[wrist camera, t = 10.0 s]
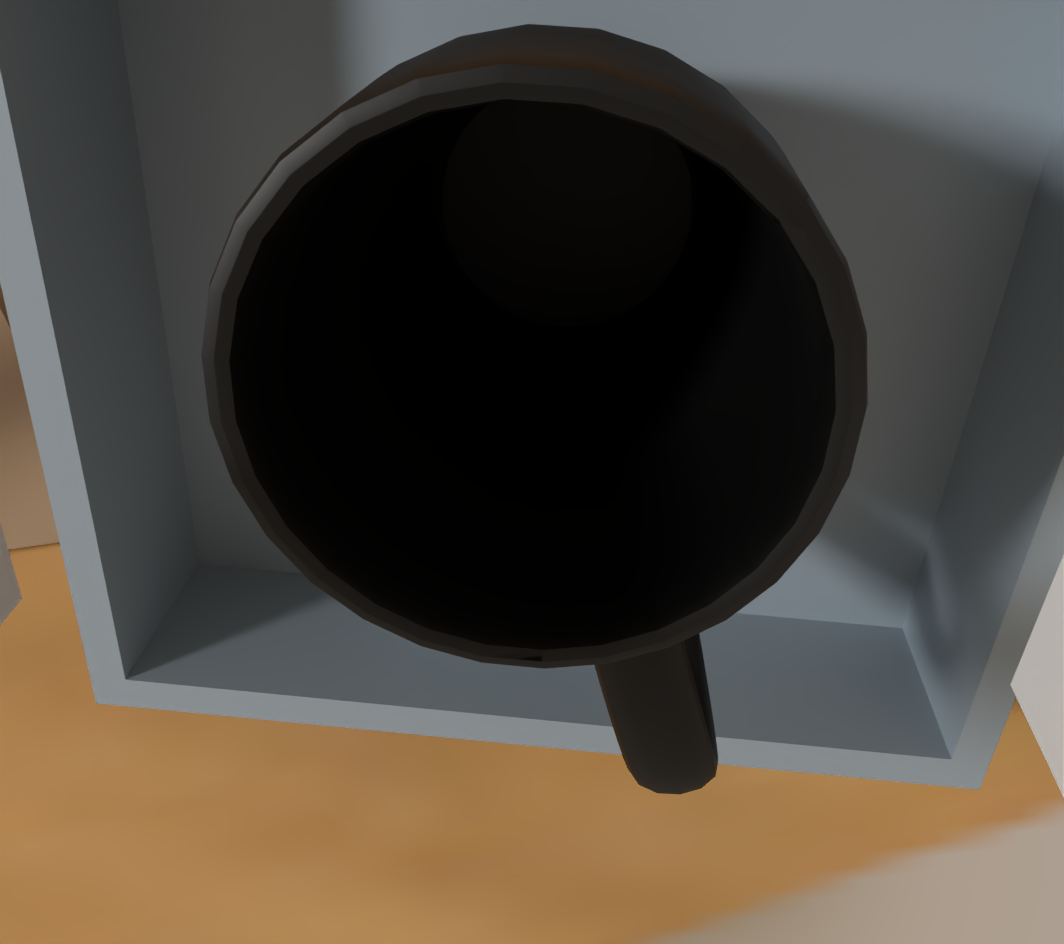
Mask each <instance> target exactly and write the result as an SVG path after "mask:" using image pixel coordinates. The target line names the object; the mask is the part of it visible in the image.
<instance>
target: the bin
mask: <svg viewBox="0 0 1064 944" xmlns="http://www.w3.org/2000/svg"><path fill="white" fill-rule="evenodd" d="M525 24H538V25H553V26H568V27H583V28H598V29H602V30H605V31H608V32H611V33H614V34H617V35H620V36H623V37H627V38H630V39H633V40H636V41H639V42H642V43H645V44H648V45H652V46H655V47H658V48H661V49H664V50H666V51H668V52H669V53H671V54H673V55H674V56H676V57H677V58H679V59H681V60H682V61H684V62H686V63H687V64H689V65H690V66H692V67H694V68H695V69H697V70H698V71H700V72H702V73H703V74H705V75H707V76H708V77H710V78H711V79H713V80H715V81H716V82H718V83H719V84H721V85H723V86H724V87H725V88H726V89H727V90H728V91H729V92H730V93H731V94H732V95H733V96H734V97H735V98H736V99H737V100H738V101H739V102H740V103H741V104H742V105H743V106H744V107H745V108H746V109H747V110H748V111H749V112H750V113H751V114H752V115H753V116H754V117H755V118H756V119H757V120H758V122H759V123H760V124H761V125H762V126H763V127H764V128H765V129H766V130H767V131H768V132H769V133H770V134H771V135H772V136H773V138H774V139H775V141H776V142H777V143H778V145H779V146H780V148H781V149H782V151H783V152H784V154H785V155H786V157H787V159H788V160H789V162H790V164H791V165H792V167H793V169H794V170H795V172H796V174H797V175H798V177H799V179H800V180H801V182H802V184H803V185H804V187H805V189H806V190H807V192H808V194H809V195H810V197H811V199H812V201H813V202H814V204H815V206H816V208H817V209H818V211H819V213H820V214H821V216H822V218H823V220H824V221H825V223H826V225H827V227H828V228H829V230H830V232H831V234H832V235H833V237H834V239H835V240H836V242H837V244H838V246H839V247H840V249H841V251H842V253H843V254H844V256H845V258H846V260H847V262H848V265H849V269H850V273H851V276H852V280H853V284H854V287H855V291H856V294H857V298H858V302H859V305H860V309H861V313H862V316H863V320H864V324H865V327H866V331H867V382H868V405H867V409H866V413H865V417H864V421H863V425H862V429H861V433H860V437H859V441H858V445H857V449H856V453H855V457H854V461H853V465H852V469H851V473H850V476H849V478H848V480H847V481H846V483H845V485H844V487H843V489H842V491H841V493H840V495H839V497H838V499H837V500H836V502H835V504H834V506H833V508H832V510H831V512H830V514H829V516H828V517H827V519H826V521H825V523H824V525H823V527H822V529H821V531H820V533H819V534H818V535H817V537H816V538H815V539H814V540H813V541H812V542H811V543H810V545H809V546H808V547H807V548H806V549H805V550H804V552H803V553H802V554H801V555H800V556H799V557H798V558H797V560H796V561H795V562H794V563H793V564H792V565H791V567H790V568H789V569H788V570H787V571H786V572H785V573H784V575H783V576H782V577H781V578H780V579H779V580H778V582H777V583H775V584H774V585H773V586H771V587H770V588H769V589H767V590H766V591H765V592H763V593H762V594H761V595H759V596H758V597H757V598H755V599H754V600H753V601H751V602H750V603H749V604H747V605H746V606H745V607H743V608H742V609H741V610H739V611H738V612H737V613H735V614H734V615H733V616H731V617H730V618H728V619H727V620H726V621H724V622H722V623H719V624H717V625H715V626H713V627H711V628H709V629H707V630H705V631H703V632H701V633H699V634H700V640H701V646H702V652H703V658H704V664H705V670H706V676H707V682H708V689H709V695H710V701H711V708H712V714H713V721H714V728H715V735H716V743H717V751H718V764H723V765H733V766H743V767H753V768H764V769H774V770H784V771H794V772H804V773H815V774H825V775H835V776H845V777H856V778H866V779H876V780H886V781H896V782H907V783H917V784H927V785H937V786H948V787H958V788H968V789H978V790H979V789H980V787H981V784H982V781H983V779H984V776H985V774H986V771H987V769H988V766H989V764H990V761H991V759H992V756H993V754H994V751H995V749H996V746H997V744H998V741H999V739H1000V736H1001V733H1002V731H1003V728H1004V726H1005V723H1006V721H1007V718H1008V716H1009V713H1010V711H1011V708H1012V706H1013V703H1014V701H1015V698H1016V696H1015V693H1014V691H1013V689H1012V687H1011V685H1010V684H1011V682H1012V680H1013V677H1014V675H1015V672H1016V670H1017V667H1018V665H1019V662H1020V660H1021V657H1022V655H1023V653H1024V650H1025V648H1026V645H1027V643H1028V640H1029V638H1030V635H1031V633H1032V631H1033V628H1034V626H1035V623H1036V621H1037V618H1038V616H1039V613H1040V611H1041V609H1042V606H1043V604H1044V601H1045V599H1046V596H1047V594H1048V591H1049V589H1050V587H1051V584H1052V582H1053V579H1054V577H1055V574H1056V572H1057V569H1058V567H1059V565H1060V562H1061V560H1062V557H1063V555H1064V0H0V284H1V288H2V293H3V297H4V301H5V306H6V310H7V315H8V319H9V323H10V328H11V332H12V336H13V341H14V345H15V350H16V354H17V358H18V363H19V367H20V372H21V376H22V380H23V385H24V389H25V393H26V398H27V402H28V407H29V411H30V415H31V420H32V424H33V428H34V433H35V437H36V442H37V446H38V450H39V455H40V459H41V464H42V468H43V472H44V477H45V481H46V485H47V490H48V494H49V499H50V503H51V507H52V512H53V516H54V521H55V525H56V529H57V534H58V538H59V542H60V547H61V551H62V556H63V560H64V564H65V569H66V573H67V578H68V582H69V586H70V591H71V595H72V599H73V604H74V608H75V613H76V617H77V621H78V626H79V630H80V635H81V639H82V643H83V648H84V652H85V656H86V661H87V665H88V670H89V674H90V678H91V683H92V687H93V692H94V696H95V700H96V703H99V704H109V705H120V706H130V707H140V708H150V709H161V710H171V711H181V712H191V713H201V714H212V715H222V716H232V717H242V718H253V719H263V720H273V721H283V722H293V723H304V724H314V725H324V726H334V727H344V728H355V729H365V730H375V731H385V732H396V733H406V734H416V735H426V736H436V737H447V738H457V739H467V740H477V741H488V742H498V743H508V744H518V745H528V746H539V747H549V748H559V749H569V750H580V751H590V752H600V753H610V754H620V755H622V753H621V750H620V747H619V744H618V741H617V738H616V735H615V732H614V729H613V726H612V723H611V720H610V716H609V713H608V710H607V706H606V703H605V700H604V696H603V693H602V690H601V686H600V683H599V679H598V676H597V672H596V669H595V665H585V666H572V667H560V668H547V669H543V668H532V667H521V666H511V665H500V664H490V663H481V662H477V661H473V660H470V659H466V658H462V657H459V656H455V655H451V654H448V653H444V652H440V651H437V650H433V649H429V648H426V647H422V646H419V645H417V644H415V643H413V642H411V641H409V640H406V639H404V638H402V637H400V636H398V635H396V634H394V633H392V632H389V631H387V630H385V629H383V628H381V627H379V626H377V625H374V624H372V623H370V622H368V621H366V620H364V619H362V618H361V617H359V616H358V615H356V614H355V613H354V612H352V611H351V610H349V609H348V608H347V607H345V606H344V605H342V604H341V603H340V602H338V601H337V600H335V599H334V598H333V597H331V596H330V595H328V594H327V593H325V592H324V591H323V590H321V589H320V588H318V587H317V586H316V585H314V584H313V583H311V582H310V581H309V580H308V579H307V578H306V576H305V575H304V574H303V573H302V572H301V571H300V570H299V569H298V568H297V567H296V566H295V565H294V564H293V563H292V562H291V561H290V560H289V559H288V558H287V557H286V556H285V555H284V554H283V553H282V552H281V551H280V550H279V548H278V547H277V546H276V545H275V544H274V543H273V542H272V541H271V540H270V539H269V538H268V537H267V536H266V534H265V533H264V531H263V530H262V528H261V526H260V525H259V523H258V522H257V520H256V519H255V517H254V516H253V514H252V512H251V511H250V509H249V508H248V506H247V505H246V503H245V501H244V500H243V498H242V497H241V495H240V494H239V492H238V490H237V489H236V487H235V486H234V484H233V483H232V480H231V478H230V475H229V472H228V469H227V467H226V464H225V461H224V459H223V456H222V453H221V451H220V448H219V445H218V442H217V440H216V437H215V434H214V432H213V429H212V426H211V424H210V420H209V412H208V404H207V396H206V388H205V380H204V372H203V365H202V357H201V354H202V344H203V335H204V327H205V319H206V310H207V302H208V294H209V285H210V280H211V277H212V275H213V272H214V270H215V267H216V265H217V262H218V260H219V257H220V254H221V252H222V249H223V247H224V244H225V242H226V239H227V237H228V234H229V232H230V229H231V226H232V224H233V221H234V219H235V216H236V214H237V213H238V211H239V210H240V209H241V207H242V206H243V205H244V203H245V202H246V201H247V199H248V198H249V197H250V195H251V194H252V192H253V191H254V190H255V188H256V187H257V186H258V184H259V183H260V182H261V180H262V179H263V177H264V176H265V175H266V173H267V172H268V171H269V169H270V168H271V167H272V165H273V164H274V163H275V161H276V160H277V158H278V157H279V156H280V154H282V153H283V152H284V151H285V150H287V149H288V148H289V147H290V146H292V145H293V144H294V143H295V142H296V141H298V140H299V139H300V138H301V137H303V136H304V135H305V134H306V133H308V132H309V131H310V130H311V129H313V128H314V127H315V126H316V125H318V124H319V123H320V122H321V121H323V120H324V119H325V118H326V117H328V116H329V115H330V114H331V113H333V112H334V111H335V110H336V109H338V108H339V107H340V106H341V105H343V104H344V103H345V102H346V101H348V100H349V99H350V98H352V97H353V96H354V95H356V94H357V93H358V92H360V91H361V90H362V89H364V88H365V87H366V86H368V85H369V84H370V83H372V82H373V81H374V80H376V79H377V78H378V77H380V76H381V75H383V74H384V73H386V72H387V71H389V70H390V69H392V68H393V67H395V66H396V65H398V64H400V63H402V62H404V61H406V60H409V59H411V58H413V57H415V56H417V55H420V54H422V53H424V52H426V51H428V50H431V49H433V48H435V47H437V46H439V45H442V44H444V43H446V42H448V41H450V40H453V39H455V38H457V37H459V36H464V35H470V34H475V33H481V32H486V31H492V30H498V29H503V28H509V27H514V26H520V25H525Z"/></svg>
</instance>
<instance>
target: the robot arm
mask: <svg viewBox="0 0 1064 944" xmlns="http://www.w3.org/2000/svg"><path fill="white" fill-rule="evenodd" d="M21 599H22V597H21V593H20V590H19V586H18V583H17V579H16V576H15V572H14V569H13V565H12V561H11V558H10V554H9V551H8V547H7V544H6V540H5V537H4V533H3V529H2V526H1V522H0V625H1V624H2V622H3V621H4V620H5V619H6V617H7V616H8V615H9V614H10V612H11V611H12V610H13V609H14V608H15V606H16V605H17V604H18V603H19V601H20V600H21ZM1010 685H1011V687H1012V689H1013V691H1014V693H1015V696H1016V698H1017V700H1018V702H1019V704H1020V706H1021V708H1022V710H1023V713H1024V715H1025V717H1026V719H1027V721H1028V723H1029V725H1030V727H1031V729H1032V732H1033V734H1034V736H1035V738H1036V740H1037V742H1038V744H1039V746H1040V748H1041V751H1042V753H1043V755H1044V757H1045V759H1046V761H1047V763H1048V765H1049V768H1050V770H1051V772H1052V774H1053V776H1054V778H1055V780H1056V782H1057V784H1058V787H1059V789H1060V791H1061V793H1062V795H1063V797H1064V555H1063V557H1062V560H1061V562H1060V565H1059V567H1058V569H1057V572H1056V574H1055V577H1054V579H1053V582H1052V584H1051V587H1050V589H1049V591H1048V594H1047V596H1046V599H1045V601H1044V604H1043V606H1042V609H1041V611H1040V613H1039V616H1038V618H1037V621H1036V623H1035V626H1034V628H1033V631H1032V633H1031V635H1030V638H1029V640H1028V643H1027V645H1026V648H1025V650H1024V653H1023V655H1022V657H1021V660H1020V662H1019V665H1018V667H1017V670H1016V672H1015V675H1014V677H1013V680H1012V682H1011V684H1010Z"/></svg>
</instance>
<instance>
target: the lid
mask: <svg viewBox="0 0 1064 944" xmlns="http://www.w3.org/2000/svg"><path fill="white" fill-rule="evenodd" d="M0 522H1V526H2V529H3V533H4V537H5V540H6V544H7V547H8V550H9V549H16V548H23V547H30V546H37V545H44V544H51V543H58V542H59V538H58V534H57V529H56V525H55V521H54V516H53V512H52V507H51V503H50V499H49V494H48V490H47V485H46V481H45V477H44V472H43V468H42V464H41V459H40V455H39V450H38V446H37V442H36V437H35V433H34V428H33V424H32V420H31V415H30V411H29V407H28V402H27V398H26V393H25V389H24V385H23V380H22V376H21V372H20V367H19V363H18V358H17V354H16V350H15V345H14V341H13V336H12V332H11V328H10V323H9V319H8V315H7V310H6V306H5V301H4V297H3V293H2V288H1V284H0Z"/></svg>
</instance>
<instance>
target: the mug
mask: <svg viewBox="0 0 1064 944" xmlns="http://www.w3.org/2000/svg"><path fill="white" fill-rule="evenodd" d="M201 357H202V365H203V372H204V380H205V388H206V396H207V404H208V412H209V420H210V424H211V426H212V429H213V432H214V434H215V437H216V440H217V442H218V445H219V448H220V451H221V453H222V456H223V459H224V461H225V464H226V467H227V469H228V472H229V475H230V478H231V480H232V483H233V484H234V486H235V487H236V489H237V490H238V492H239V494H240V495H241V497H242V498H243V500H244V501H245V503H246V505H247V506H248V508H249V509H250V511H251V512H252V514H253V516H254V517H255V519H256V520H257V522H258V523H259V525H260V526H261V528H262V530H263V531H264V533H265V534H266V536H267V537H268V538H269V539H270V540H271V541H272V542H273V543H274V544H275V545H276V546H277V547H278V548H279V550H280V551H281V552H282V553H283V554H284V555H285V556H286V557H287V558H288V559H289V560H290V561H291V562H292V563H293V564H294V565H295V566H296V567H297V568H298V569H299V570H300V571H301V572H302V573H303V574H304V575H305V576H306V578H307V579H308V580H309V581H310V582H311V583H313V584H314V585H316V586H317V587H318V588H320V589H321V590H323V591H324V592H325V593H327V594H328V595H330V596H331V597H333V598H334V599H335V600H337V601H338V602H340V603H341V604H342V605H344V606H345V607H347V608H348V609H349V610H351V611H352V612H354V613H355V614H356V615H358V616H359V617H361V618H362V619H364V620H366V621H368V622H370V623H372V624H374V625H377V626H379V627H381V628H383V629H385V630H387V631H389V632H392V633H394V634H396V635H398V636H400V637H402V638H404V639H406V640H409V641H411V642H413V643H415V644H417V645H419V646H422V647H426V648H429V649H433V650H437V651H440V652H444V653H448V654H451V655H455V656H459V657H462V658H466V659H470V660H473V661H477V662H481V663H490V664H500V665H511V666H521V667H532V668H543V669H547V668H560V667H572V666H585V665H595V669H596V672H597V676H598V679H599V683H600V686H601V690H602V693H603V696H604V700H605V703H606V706H607V710H608V713H609V716H610V720H611V723H612V726H613V729H614V732H615V735H616V738H617V741H618V744H619V747H620V750H621V753H622V756H623V758H624V761H625V763H626V765H627V768H628V769H629V771H630V772H631V774H632V775H633V777H634V778H635V780H636V781H637V783H638V784H639V785H641V786H643V787H645V788H647V789H649V790H652V791H654V792H656V793H665V794H683V793H686V792H690V791H693V790H697V789H700V788H702V787H703V786H704V785H706V784H707V783H708V782H709V781H710V780H711V779H713V778H714V777H715V775H716V770H717V765H718V751H717V743H716V735H715V728H714V721H713V714H712V708H711V701H710V695H709V689H708V682H707V676H706V670H705V664H704V658H703V652H702V646H701V640H700V634H699V633H701V632H703V631H705V630H707V629H709V628H711V627H713V626H715V625H717V624H719V623H722V622H724V621H726V620H727V619H728V618H730V617H731V616H733V615H734V614H735V613H737V612H738V611H739V610H741V609H742V608H743V607H745V606H746V605H747V604H749V603H750V602H751V601H753V600H754V599H755V598H757V597H758V596H759V595H761V594H762V593H763V592H765V591H766V590H767V589H769V588H770V587H771V586H773V585H774V584H775V583H777V582H778V580H779V579H780V578H781V577H782V576H783V575H784V573H785V572H786V571H787V570H788V569H789V568H790V567H791V565H792V564H793V563H794V562H795V561H796V560H797V558H798V557H799V556H800V555H801V554H802V553H803V552H804V550H805V549H806V548H807V547H808V546H809V545H810V543H811V542H812V541H813V540H814V539H815V538H816V537H817V535H818V534H819V533H820V531H821V529H822V527H823V525H824V523H825V521H826V519H827V517H828V516H829V514H830V512H831V510H832V508H833V506H834V504H835V502H836V500H837V499H838V497H839V495H840V493H841V491H842V489H843V487H844V485H845V483H846V481H847V480H848V478H849V476H850V473H851V469H852V465H853V461H854V457H855V453H856V449H857V445H858V441H859V437H860V433H861V429H862V425H863V421H864V417H865V413H866V409H867V405H868V382H867V331H866V327H865V324H864V320H863V316H862V313H861V309H860V305H859V302H858V298H857V294H856V291H855V287H854V284H853V280H852V276H851V273H850V269H849V265H848V262H847V260H846V258H845V256H844V254H843V253H842V251H841V249H840V247H839V246H838V244H837V242H836V240H835V239H834V237H833V235H832V234H831V232H830V230H829V228H828V227H827V225H826V223H825V221H824V220H823V218H822V216H821V214H820V213H819V211H818V209H817V208H816V206H815V204H814V202H813V201H812V199H811V197H810V195H809V194H808V192H807V190H806V189H805V187H804V185H803V184H802V182H801V180H800V179H799V177H798V175H797V174H796V172H795V170H794V169H793V167H792V165H791V164H790V162H789V160H788V159H787V157H786V155H785V154H784V152H783V151H782V149H781V148H780V146H779V145H778V143H777V142H776V141H775V139H774V138H773V136H772V135H771V134H770V133H769V132H768V131H767V130H766V129H765V128H764V127H763V126H762V125H761V124H760V123H759V122H758V120H757V119H756V118H755V117H754V116H753V115H752V114H751V113H750V112H749V111H748V110H747V109H746V108H745V107H744V106H743V105H742V104H741V103H740V102H739V101H738V100H737V99H736V98H735V97H734V96H733V95H732V94H731V93H730V92H729V91H728V90H727V89H726V88H725V87H724V86H723V85H721V84H719V83H718V82H716V81H715V80H713V79H711V78H710V77H708V76H707V75H705V74H703V73H702V72H700V71H698V70H697V69H695V68H694V67H692V66H690V65H689V64H687V63H686V62H684V61H682V60H681V59H679V58H677V57H676V56H674V55H673V54H671V53H669V52H668V51H666V50H664V49H661V48H658V47H655V46H652V45H648V44H645V43H642V42H639V41H636V40H633V39H630V38H627V37H623V36H620V35H617V34H614V33H611V32H608V31H605V30H602V29H598V28H583V27H568V26H553V25H538V24H525V25H520V26H514V27H509V28H503V29H498V30H492V31H486V32H481V33H475V34H470V35H464V36H459V37H457V38H455V39H453V40H450V41H448V42H446V43H444V44H442V45H439V46H437V47H435V48H433V49H431V50H428V51H426V52H424V53H422V54H420V55H417V56H415V57H413V58H411V59H409V60H406V61H404V62H402V63H400V64H398V65H396V66H395V67H393V68H392V69H390V70H389V71H387V72H386V73H384V74H383V75H381V76H380V77H378V78H377V79H376V80H374V81H373V82H372V83H370V84H369V85H368V86H366V87H365V88H364V89H362V90H361V91H360V92H358V93H357V94H356V95H354V96H353V97H352V98H350V99H349V100H348V101H346V102H345V103H344V104H343V105H341V106H340V107H339V108H338V109H336V110H335V111H334V112H333V113H331V114H330V115H329V116H328V117H326V118H325V119H324V120H323V121H321V122H320V123H319V124H318V125H316V126H315V127H314V128H313V129H311V130H310V131H309V132H308V133H306V134H305V135H304V136H303V137H301V138H300V139H299V140H298V141H296V142H295V143H294V144H293V145H292V146H290V147H289V148H288V149H287V150H285V151H284V152H283V153H282V154H280V156H279V157H278V158H277V160H276V161H275V163H274V164H273V165H272V167H271V168H270V169H269V171H268V172H267V173H266V175H265V176H264V177H263V179H262V180H261V182H260V183H259V184H258V186H257V187H256V188H255V190H254V191H253V192H252V194H251V195H250V197H249V198H248V199H247V201H246V202H245V203H244V205H243V206H242V207H241V209H240V210H239V211H238V213H237V214H236V216H235V219H234V221H233V224H232V226H231V229H230V232H229V234H228V237H227V239H226V242H225V244H224V247H223V249H222V252H221V254H220V257H219V260H218V262H217V265H216V267H215V270H214V272H213V275H212V277H211V280H210V285H209V294H208V302H207V310H206V319H205V327H204V335H203V344H202V354H201Z"/></svg>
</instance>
